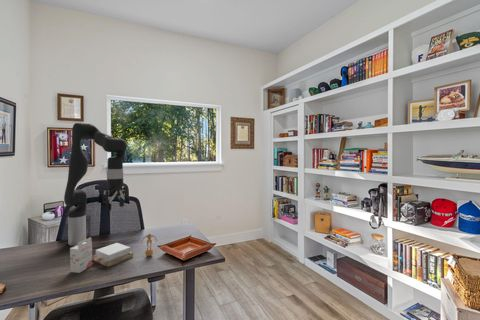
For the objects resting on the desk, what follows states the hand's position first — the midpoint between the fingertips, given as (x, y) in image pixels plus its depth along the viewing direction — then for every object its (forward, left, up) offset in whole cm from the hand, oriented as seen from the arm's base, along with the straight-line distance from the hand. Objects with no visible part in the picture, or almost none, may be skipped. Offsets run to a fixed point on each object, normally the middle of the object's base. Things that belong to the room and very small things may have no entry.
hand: (115, 208), depth 128 cm
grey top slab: (-5, +2, -26) cm, 27 cm away
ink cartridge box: (-7, -13, -29) cm, 32 cm away
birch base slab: (-5, +2, -29) cm, 29 cm away
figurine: (+8, +15, -29) cm, 33 cm away
